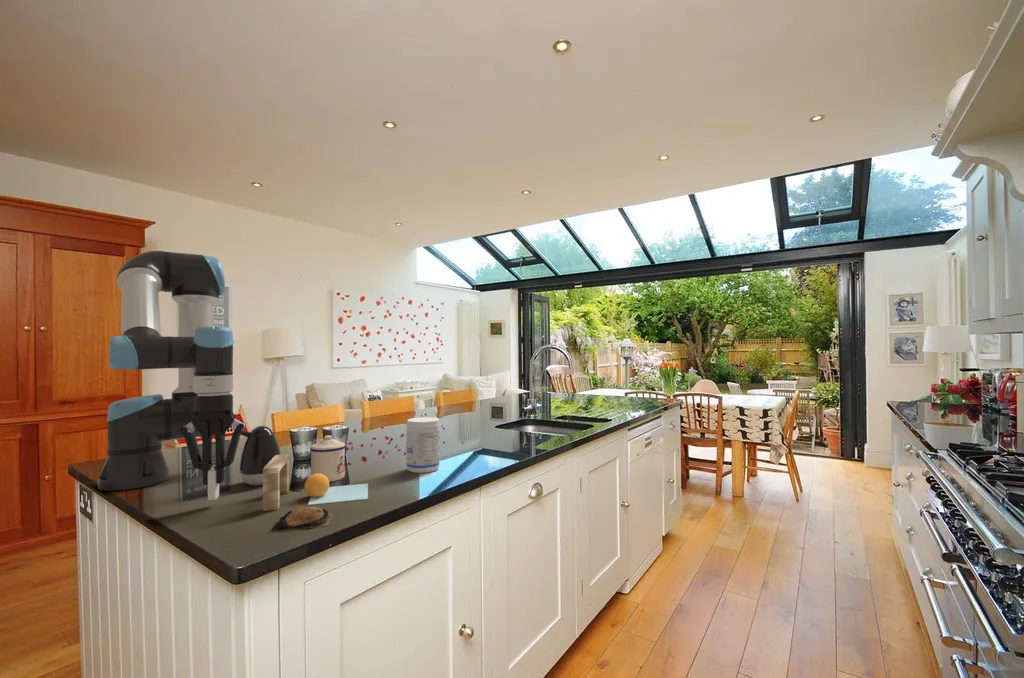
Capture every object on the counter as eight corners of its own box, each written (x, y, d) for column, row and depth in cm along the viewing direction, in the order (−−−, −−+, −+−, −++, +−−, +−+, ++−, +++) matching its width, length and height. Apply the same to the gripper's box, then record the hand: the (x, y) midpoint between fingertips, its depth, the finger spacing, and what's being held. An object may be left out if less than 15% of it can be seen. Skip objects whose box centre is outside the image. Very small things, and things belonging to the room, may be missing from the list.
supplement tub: (401, 469, 137) (400, 419, 137) (430, 463, 142) (429, 416, 143) (415, 475, 129) (415, 422, 129) (445, 470, 135) (445, 419, 135)
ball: (321, 466, 114) (335, 483, 115) (302, 481, 113) (316, 498, 114) (317, 471, 109) (332, 489, 109) (297, 487, 108) (312, 505, 108)
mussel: (333, 516, 100) (333, 498, 100) (328, 530, 92) (328, 511, 92) (280, 520, 97) (280, 502, 97) (269, 535, 89) (269, 516, 89)
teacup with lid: (344, 481, 125) (344, 437, 125) (308, 484, 122) (308, 440, 122) (346, 470, 136) (346, 430, 136) (313, 473, 133) (313, 432, 134)
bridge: (262, 511, 101) (262, 468, 102) (275, 492, 115) (275, 455, 116) (277, 509, 102) (277, 467, 103) (288, 490, 116) (288, 454, 116)
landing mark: (314, 489, 117) (314, 488, 117) (367, 484, 121) (367, 483, 121) (307, 505, 105) (307, 504, 105) (367, 499, 109) (367, 498, 109)
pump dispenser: (241, 480, 127) (241, 424, 127) (283, 476, 131) (283, 422, 131) (235, 490, 117) (235, 430, 118) (281, 485, 121) (281, 427, 122)
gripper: (173, 396, 100) (173, 506, 100) (241, 394, 104) (241, 500, 103) (186, 393, 107) (186, 496, 107) (249, 391, 111) (249, 490, 111)
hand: (213, 498), depth 105 cm, fingers closed
